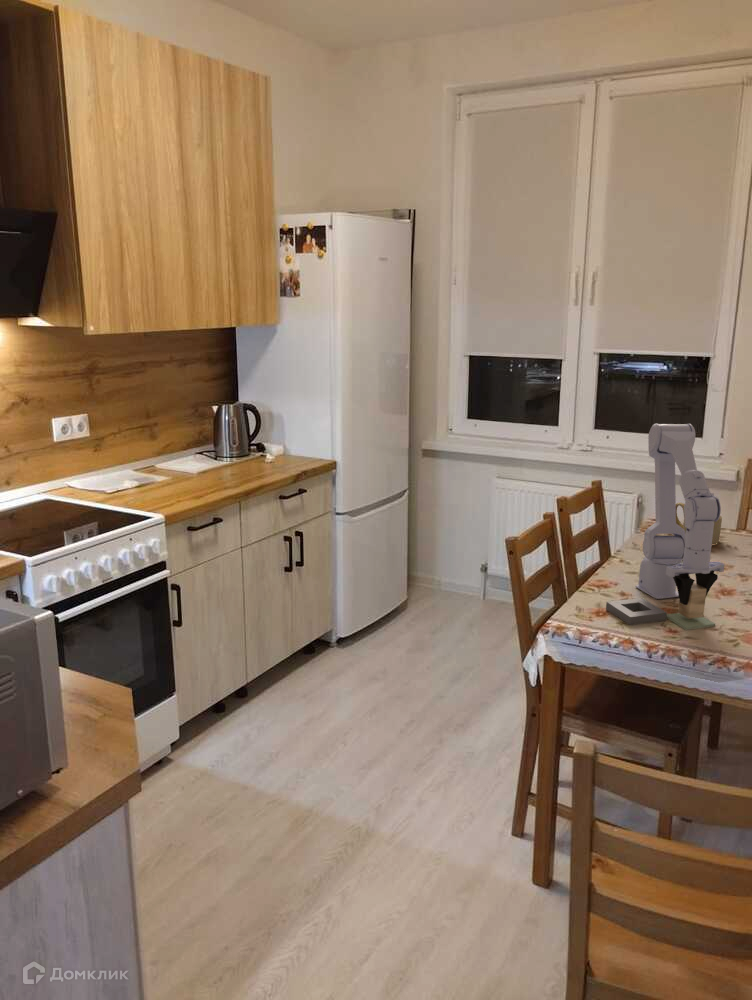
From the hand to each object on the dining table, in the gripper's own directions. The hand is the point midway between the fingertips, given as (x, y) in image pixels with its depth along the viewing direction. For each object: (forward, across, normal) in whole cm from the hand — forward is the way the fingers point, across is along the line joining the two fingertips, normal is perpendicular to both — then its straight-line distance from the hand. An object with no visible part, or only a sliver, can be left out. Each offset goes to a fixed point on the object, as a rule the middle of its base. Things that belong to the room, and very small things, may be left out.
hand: (691, 602), depth 183 cm
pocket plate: (+5, -10, +7) cm, 13 cm away
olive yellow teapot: (+5, +45, +56) cm, 72 cm away
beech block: (+3, 0, 0) cm, 3 cm away
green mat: (+5, 0, 0) cm, 5 cm away
